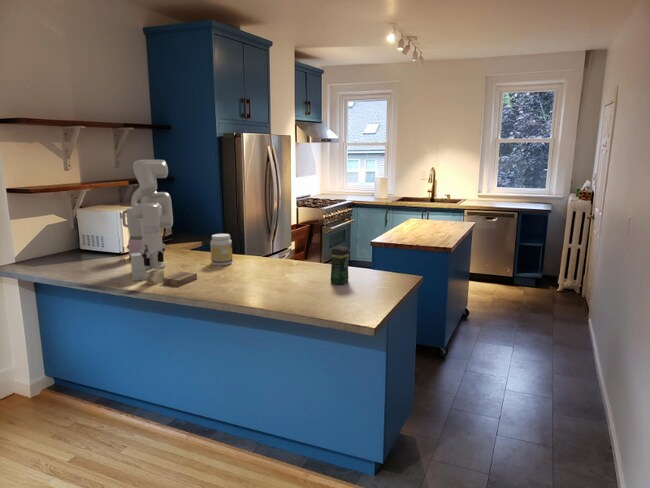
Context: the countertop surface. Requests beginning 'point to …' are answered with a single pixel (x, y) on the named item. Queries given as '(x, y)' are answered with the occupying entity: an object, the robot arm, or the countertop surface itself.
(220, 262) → the supplement tub
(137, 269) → the small box
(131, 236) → the blender
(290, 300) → the countertop surface
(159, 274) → the maple cube
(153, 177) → the robot arm
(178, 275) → the walnut board
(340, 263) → the coffee jar
